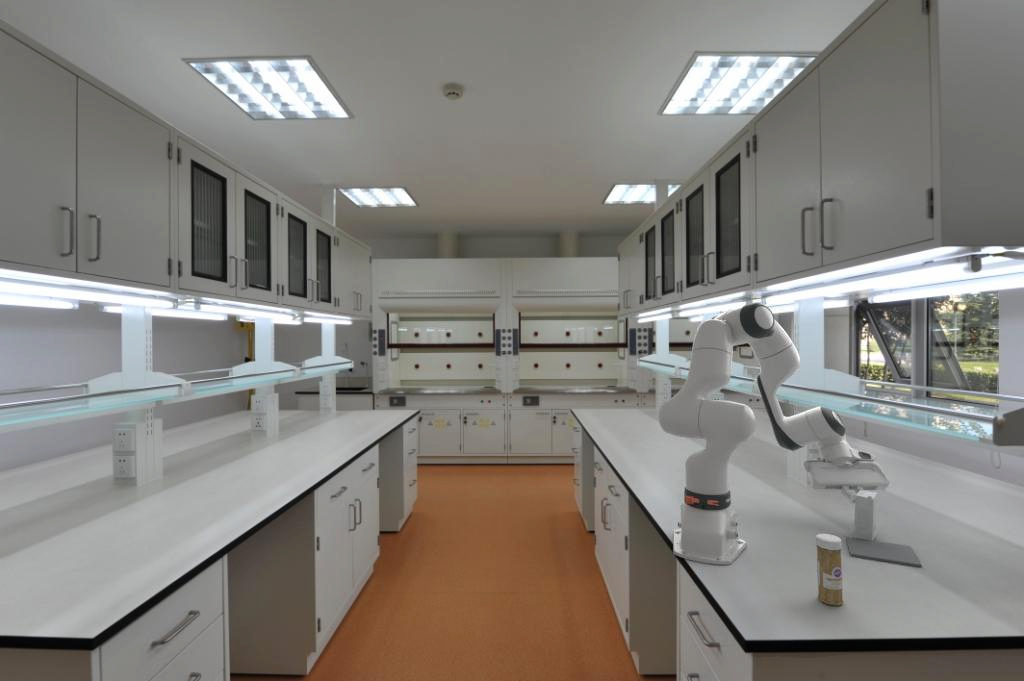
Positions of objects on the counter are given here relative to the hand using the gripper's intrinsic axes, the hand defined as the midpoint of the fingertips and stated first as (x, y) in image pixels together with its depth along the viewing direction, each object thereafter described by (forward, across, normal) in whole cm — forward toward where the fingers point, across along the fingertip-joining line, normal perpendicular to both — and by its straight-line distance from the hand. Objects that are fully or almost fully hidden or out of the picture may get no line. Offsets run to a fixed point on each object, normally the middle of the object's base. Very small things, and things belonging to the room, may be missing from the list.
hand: (857, 502), depth 137 cm
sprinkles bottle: (+34, -25, -22) cm, 48 cm away
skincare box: (+9, 0, +3) cm, 9 cm away
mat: (+15, -1, -4) cm, 16 cm away
